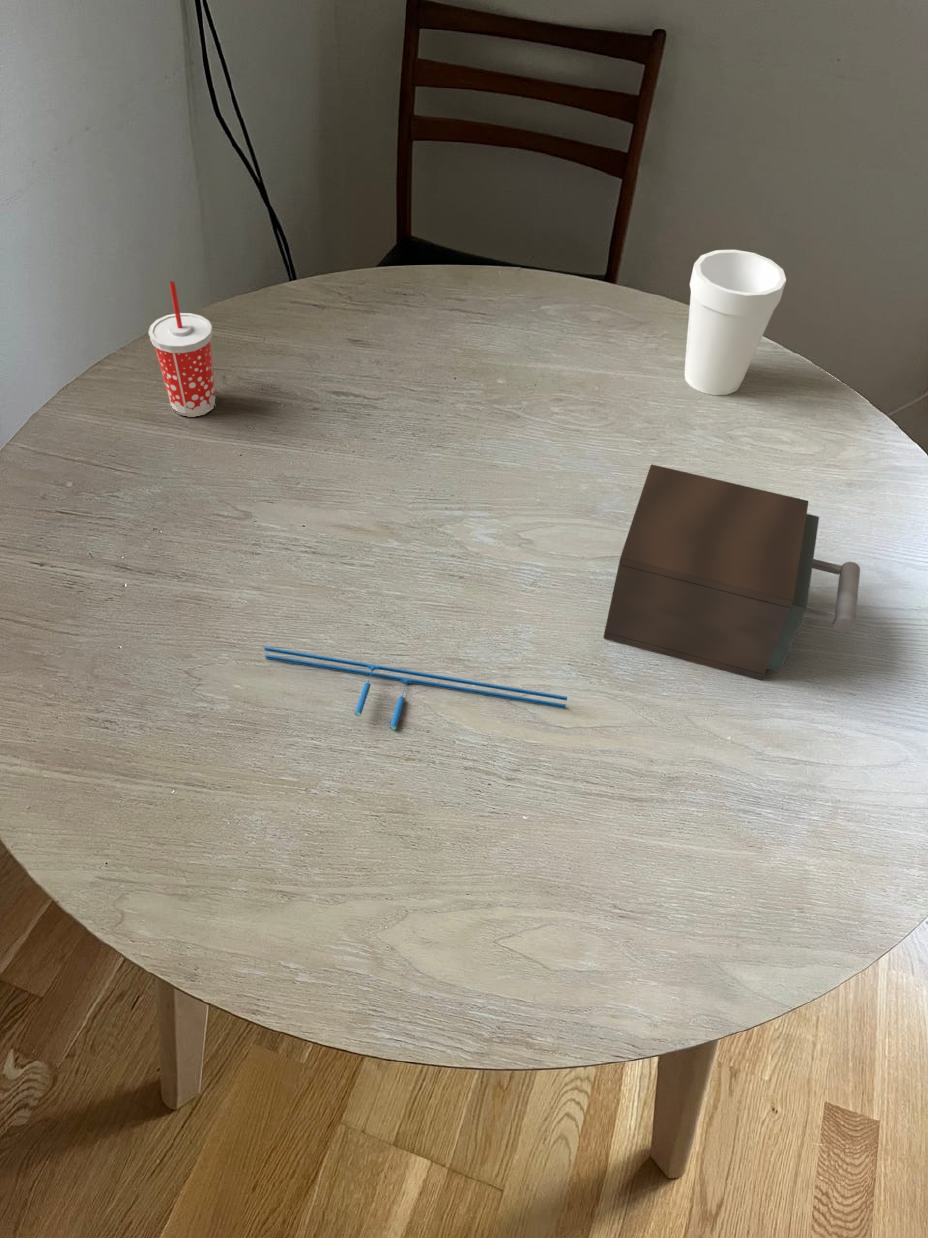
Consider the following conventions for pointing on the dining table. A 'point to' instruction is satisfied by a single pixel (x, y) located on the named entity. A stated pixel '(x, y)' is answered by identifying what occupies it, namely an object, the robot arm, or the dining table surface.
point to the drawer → (845, 593)
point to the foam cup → (728, 316)
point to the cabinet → (707, 571)
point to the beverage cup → (185, 358)
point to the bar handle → (410, 681)
